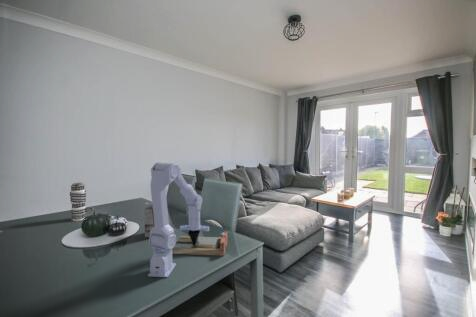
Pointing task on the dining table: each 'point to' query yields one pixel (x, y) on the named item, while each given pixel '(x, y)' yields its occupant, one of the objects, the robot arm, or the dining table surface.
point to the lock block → (207, 242)
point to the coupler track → (202, 251)
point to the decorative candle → (78, 201)
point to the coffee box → (149, 220)
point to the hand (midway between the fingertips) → (194, 244)
